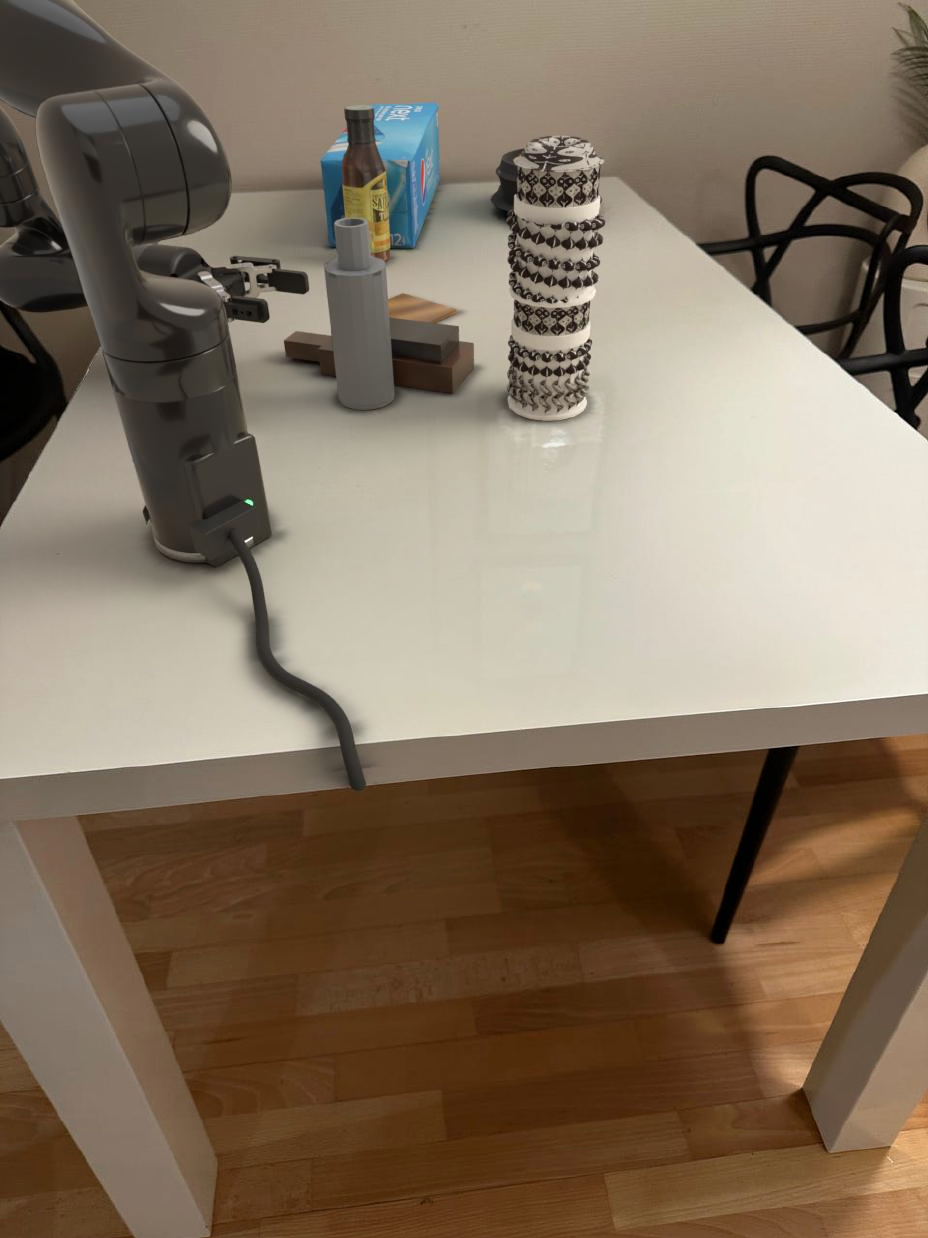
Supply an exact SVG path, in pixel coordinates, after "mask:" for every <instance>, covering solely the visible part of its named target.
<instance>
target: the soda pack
mask: <svg viewBox="0 0 928 1238" xmlns="http://www.w3.org/2000/svg"><path fill="white" fill-rule="evenodd" d="M368 105H369V106H373V107H374V114H375V118H374V133H375V139H376V145H377V148H378V151H379V153H380V156H381V159H382V161H383V164H384V167H385V169H386V179H387V195H388V213H389V231H390V249H414V248H415V247H416V244H417V242H418V239H419V237H420V234H421V232H422V229H423V226H424V224H425V221H426V218H427V215H428V213H429V211H430V207H431V204H432V202H433V200H434V197H435V194H436V191H437V189H438V186H439V184H440V181H441V166H440V165H441V163H440V138H439V137H440V136H439V131H440V130H439V103H438V102H419V103H418V102H415V103H414V102H413V103H412V102H411V103H381V104H380V103H379V104H377V103H375V104H374V103H373V104H368ZM347 138H348V134H347V127H346V128H345V129H344V131H343V132H342V133H341V134H340V136H338V137H337V139H336V140H335V142H334V143H333V144H332V145H331V146H330V147H329V149H328V150H327V151H326V153H325V154H324V155H323V156H322V157H321V159H320V160H319V161H320V168H321V169H320V170H321V176H322V178H321V179H322V188H323V189H322V190H323V196H324V197H323V198H324V207H325V208H324V209H325V217H326V224H327V240H328V245H329V247H330V248H336V239H335V230H334V222H335V221H337V220H339V219H342V218H345V209H344V197H343V186H342V183H343V175H342V160H343V156H344V153H346V150H347V147H348V145H349V144H348V141H347Z"/></svg>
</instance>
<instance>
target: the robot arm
mask: <svg viewBox="0 0 928 1238" xmlns="http://www.w3.org/2000/svg"><path fill="white" fill-rule="evenodd" d="M0 101H1V102H2V103H5V104H6V105H7V106H9V107H10V108H13V109H14V110H16V111H18V112H20V113H21V114H24V115H27V116H29V117H32V118H33V119H35V120H34V131H35V141H36V147H37V151H38V156H39V159H40V164H41V167H42V171H43V174H44V177H45V181H46V183H47V187H48V190H49V193H50V196H51V198H52V201H53V204H54V207H55V209H56V212H55V211H54V209H53V207H52V206H51V204H50V203H49V201H48V200H47V198H46V197H45V195H44V194H43V192H42V191H41V187H40V185H39V181H38V179H37V176H36V173H35V172H36V171H35V169H34V167H33V164H32V161H31V158H30V155H29V152H28V149H27V146H26V144H25V141H24V138H23V136H22V134H21V133H20V131H19V129H18V127H17V126H16V124H15V123H14V121H13V120H12V118H11V116H10V115H9V114H8V113H7V111H6V110H5V109H4V108H3V107H2V106H1V105H0V228H1V229H2V228H3V229H8V228H9V229H10V228H14V230H15V233H14V234H12V235H11V236H10V237H9V238H8V239H7V240H5V241H4V242H3V243H2V244H1V245H0V301H1V302H2V303H4V304H6V305H8V306H9V307H12V308H14V309H16V310H19V311H23V312H27V313H36V314H37V313H38V314H41V313H53V312H54V313H55V312H61V311H69V310H75V309H80V308H86V307H88V308H87V309H88V311H89V313H90V316H91V319H92V323H93V324H94V328H95V331H96V335H97V339H98V342H99V346H100V348H101V352H102V353H101V354H102V357H103V360H104V364H105V367H106V370H107V374H108V377H109V381H110V384H111V388H112V392H113V396H114V400H115V402H116V406H117V410H118V413H119V416H120V420H121V425H122V429H123V431H124V435H125V438H126V442H127V445H128V449H129V453H130V456H131V460H132V463H133V467H134V470H135V473H136V477H137V480H138V481H137V482H138V484H139V488H140V492H141V495H142V498H143V502H144V507H143V509H142V514H143V518H144V522H145V523H146V525H148V523H149V522H150V525H151V533H152V538H153V541H154V544H155V547H156V549H157V550H158V551H159V552H160V553H162V554H163V555H164V556H166V557H168V558H170V559H172V560H176V561H180V562H183V563H206V564H209V565H211V566H212V567H219V566H221V565H222V564H224V563H226V562H228V561H229V560H231V559H233V558H234V557H236V556H238V557H239V559H240V561H241V563H242V564H243V566H244V567H243V568H244V569H245V572H246V575H247V578H248V582H249V586H250V591H251V599H252V606H253V611H254V621H255V645H256V651H257V655H258V658H259V661H260V663H261V665H262V666H263V668H264V669H265V671H266V672H267V673H268V674H269V676H270V677H272V679H274V680H275V681H276V682H278V683H279V684H281V685H282V686H284V687H286V688H288V689H289V690H292V691H293V692H295V693H296V694H297V693H298V695H299V694H300V695H301V696H303V697H305V698H307V699H309V700H311V701H313V702H314V703H315V704H317V705H318V706H319V707H320V708H321V709H323V711H324V712H325V713H326V714H327V715H328V717H329V718H330V720H331V721H332V722H333V725H334V727H335V730H336V733H337V736H338V742H339V746H340V750H341V756H342V759H343V763H344V767H345V771H346V774H347V778H348V781H349V784H350V787H351V789H352V790H354V791H355V792H362V791H363V790H365V789H366V786H367V782H366V778H365V776H364V772H363V769H362V765H361V762H360V758H359V753H358V750H357V746H356V742H355V737H354V733H353V729H352V726H351V722H350V720H349V718H348V716H347V714H346V713H345V711H344V710H343V708H342V707H341V705H340V704H339V703H338V702H337V701H336V700H335V699H334V698H333V697H332V696H331V695H329V694H328V693H327V692H325V691H324V690H322V689H321V688H319V687H317V686H315V685H313V683H310V682H308V681H306V680H303V679H301V678H300V677H297V676H295V675H293V674H292V673H290V672H289V671H288V670H286V669H285V668H284V667H283V666H282V665H281V664H280V663H279V662H278V661H277V659H276V658H275V656H274V654H273V652H272V649H271V646H270V624H269V622H270V621H269V616H268V609H267V603H266V596H265V590H264V584H263V580H262V576H261V573H260V570H259V567H258V564H257V562H256V560H255V557H254V555H253V553H252V552H251V550H250V549H251V548H252V547H254V546H256V545H257V544H260V543H261V542H263V541H264V540H266V539H268V538H270V537H272V535H273V529H272V523H271V517H270V512H269V511H270V510H269V507H268V506H269V505H268V501H267V495H266V490H265V485H264V478H263V473H262V472H263V471H262V467H261V462H260V457H259V451H258V445H257V440H256V437H255V436H254V434H252V433H249V430H248V424H247V419H246V413H245V408H244V403H243V398H242V397H243V396H242V392H241V388H240V387H241V385H240V381H239V374H238V369H237V364H236V359H235V354H234V353H235V352H234V348H233V342H232V336H231V332H230V327H229V326H230V325H229V323H232V322H234V321H235V320H237V321H245V322H251V323H252V322H253V323H260V324H265V323H266V322H268V321H269V320H270V319H271V316H270V310H269V303H268V301H267V299H264V298H260V297H259V296H260V294H261V293H268V292H277V293H278V292H279V293H286V294H287V293H288V294H295V295H306V294H307V293H309V291H310V283H309V275H308V273H307V272H305V271H303V270H294V269H293V270H292V269H283V268H282V267H281V260H280V259H279V258H266V257H257V256H255V257H254V256H242V255H232V256H230V257H229V262H230V264H227V263H225V262H220V263H218V262H217V263H212V264H210V265H209V264H208V262H207V261H206V260H205V259H204V257H203V256H202V254H201V253H199V252H198V251H197V250H195V249H194V248H191V247H187V246H178V245H169V244H159V243H157V242H162V241H166V240H171V239H175V238H179V237H186V236H189V235H193V234H195V233H198V232H201V231H203V230H205V229H208V228H209V227H212V226H213V225H215V224H216V223H217V222H218V221H219V220H221V218H223V216H224V215H225V213H226V212H227V210H228V207H229V206H230V202H231V197H232V189H233V185H232V184H233V181H232V172H231V167H230V163H229V159H228V156H227V153H226V150H225V146H224V144H223V142H222V139H221V137H220V135H219V133H218V131H217V130H216V127H215V126H214V124H213V122H212V120H211V119H210V117H209V116H208V114H207V113H206V111H205V109H203V107H202V106H201V105H200V103H198V101H197V100H196V99H195V97H193V96H192V94H191V93H190V92H189V91H188V90H187V89H186V88H184V86H182V84H180V83H179V82H178V81H176V80H175V79H173V77H171V76H169V75H168V74H166V73H164V72H163V71H161V70H160V69H159V68H157V67H156V66H154V65H153V64H152V63H150V62H148V61H147V60H146V59H144V58H142V57H141V56H139V55H137V54H136V53H135V52H134V51H132V50H131V49H129V48H127V46H125V45H124V44H122V43H121V42H119V41H118V40H117V39H116V38H115V37H114V36H112V35H111V34H110V33H109V32H108V31H107V30H106V29H105V28H104V27H102V26H101V25H100V24H99V23H98V22H97V21H95V20H94V19H93V18H92V17H91V16H90V15H89V14H88V13H87V12H85V11H84V10H83V9H82V8H81V7H80V6H79V5H78V4H77V3H76V2H75V0H0ZM56 213H57V214H56ZM265 274H266V275H265ZM245 283H249V288H248V289H246V284H245ZM258 297H259V298H258Z"/></svg>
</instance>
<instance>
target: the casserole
mask: <svg viewBox="0 0 928 1238" xmlns="http://www.w3.org/2000/svg"><path fill="white" fill-rule="evenodd" d="M524 148H525V147H524ZM524 148H518V149H514V150H511V151H508V152H506V153H504V154H503V155H502V157H501V160H500V163H499V165H498V166H497V167H496V169H495V174H496V176H497V177H498V179H499V186H498V188H497V191H496V192H494V193H493V194H492V195H491V197H490V203H491V204H492V205H493V206H495V207H496V208H498V209H500V210H502V211H504V212H505V211H506V212H507V213H508V212H509V211H510V210H512V209H513V207H514V195H515V194H516V191H517V183H516V182H517V170H518V168H517V165H516V164H515V163H514V161H513V160H514V159H515V158H516V157H517V156H519V155H521V154H522V152H523V150H524ZM598 195H599V196H600V205H601V204H602V202H603V197H602V196H601V195H600V194H598Z"/></svg>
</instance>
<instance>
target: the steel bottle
mask: <svg viewBox="0 0 928 1238" xmlns="http://www.w3.org/2000/svg"><path fill="white" fill-rule="evenodd" d="M334 230H335V239H336V247H335V248H336V258H333V259H331V260H328V261H327V262H326V263H325V264H324V265H323V266H324V268H323V271H324V279H325V289H326V297H327V306H328V316H329V324H330V334H332V343H333V352H334V361H335V370H336V376H335V378H336V387H337V388H336V389H337V396H338V401H339V403H340V404H341V405H342V406H344V407H346V408H348V409H352V410H357V411H360V410H361V411H369V410H370V411H371V410H376V409H381V408H383V407H387V406H388V405H390V404H391V403H392V402H393V401H394V399H395V385H394V379H393V365H392V350H391V335H390V321H389V306H388V299H389V294H388V292H389V291H388V282H387V281H388V279H387V265H386V262H387V261H383V260H382V259H380V258H377V257H373V256H371V248H370V235H369V222H368V221H367V220H366V219H363V218H355V217H350V218H342V219H339V220H337V221H335V222H334Z"/></svg>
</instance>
